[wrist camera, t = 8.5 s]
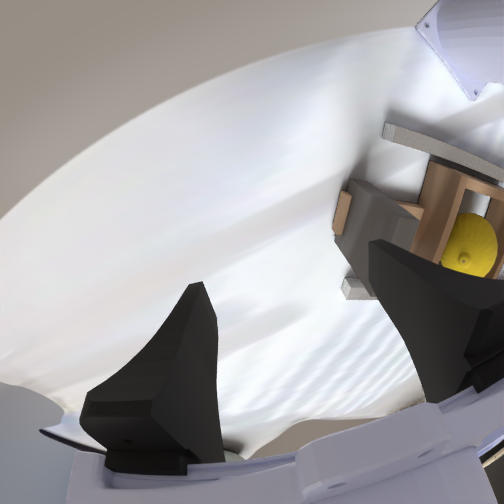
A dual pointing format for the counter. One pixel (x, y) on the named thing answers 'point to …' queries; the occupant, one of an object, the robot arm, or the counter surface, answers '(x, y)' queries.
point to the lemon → (470, 246)
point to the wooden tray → (411, 218)
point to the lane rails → (415, 140)
